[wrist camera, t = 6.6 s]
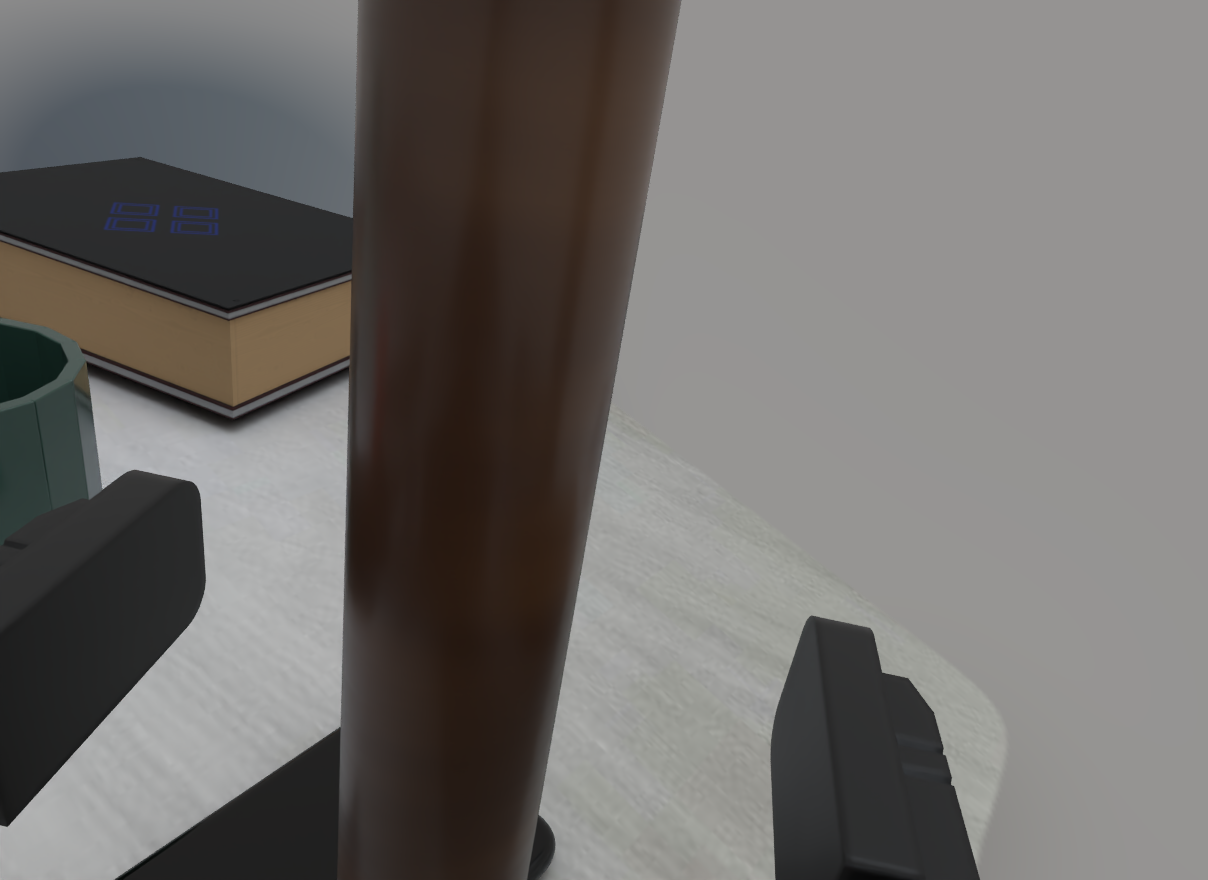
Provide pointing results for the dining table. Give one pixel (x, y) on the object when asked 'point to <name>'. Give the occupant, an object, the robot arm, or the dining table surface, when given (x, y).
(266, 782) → the smartphone
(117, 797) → the dining table surface
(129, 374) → the book
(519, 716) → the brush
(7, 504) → the green faceted cup
